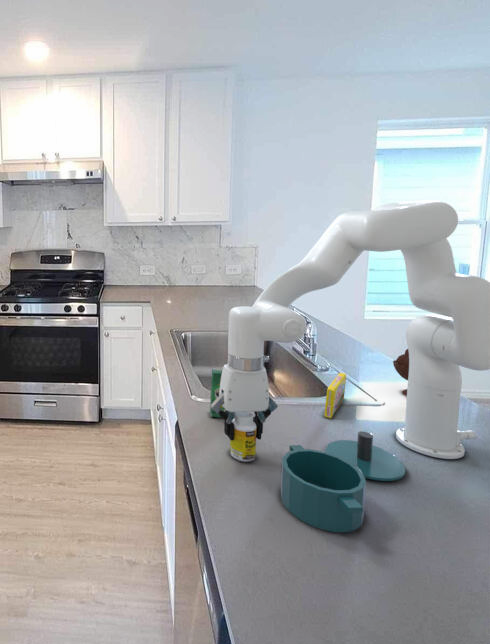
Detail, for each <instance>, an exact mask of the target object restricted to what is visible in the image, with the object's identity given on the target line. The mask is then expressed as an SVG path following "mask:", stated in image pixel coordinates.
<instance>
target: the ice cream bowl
mask: <svg viewBox="0 0 490 644" xmlns="http://www.w3.org/2000/svg"><path fill="white" fill-rule="evenodd" d="M392 363H393V367H394V370H395V371H396V372H397V374H398V375H399V376H400V377H401V378H402V379H404V380H405V381H408V376H409V351H408V348H407V349H405V351H404V353H403V354H401V355H398V357H397V358H396V359H395V360H392ZM401 393H402V395H404V396H406V397H407V388H406V389H403V390H402V391H401Z"/></svg>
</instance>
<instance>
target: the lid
mask: <svg viewBox="0 0 490 644" xmlns="http://www.w3.org/2000/svg"><path fill="white" fill-rule="evenodd" d="M373 442H374V435H373V434H372V433H370V432H367V431H358V432H357V440H351V439H341V440H334V441H331V442H329V443H327V445H326V447H325V452H327V453H330V454H333V455H336V456H339V457H341V458H343V459H344V460H346V461H348V462H350V463H352V464H353V465H354V466H356V467H357V468H358V469H359V470H360V471H361V472H362V473H363V475H364V477H365V479H369V480H373V481H381V482H390V481H391V482H392V481H397V480H401V479H402V478H404V476H405V475H406V466H405V464H404V463H403V461H402V460H401V459H400V458H399V457H398V456H396V455H394V454H393V453H391V452H390V451H389V450H388V451H387V450H386V449H384V448H381V447H380V446H376V445H373V444H374V443H373Z"/></svg>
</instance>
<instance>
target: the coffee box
mask: <svg viewBox="0 0 490 644" xmlns="http://www.w3.org/2000/svg"><path fill="white" fill-rule="evenodd" d="M222 371H223V369H211V382H210V383H211V385H210V402H209V403H210V404H209V414H210V417H211V418H217V419H220V418H221V419H223V418H222V417H221V416H220V415H219V414H217V413H216V412H215V411H214V410H213V409H212V408H211V404H212V403H213V402H214V401H215V400H216V399H217V398H218V397H219V390H220V382H221V375H222ZM220 409H222V410H223V411H224V410H225V405H224V404H222V405H221V406H220ZM234 417H235V415H234ZM233 419H234V418H233Z"/></svg>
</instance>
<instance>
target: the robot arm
mask: <svg viewBox="0 0 490 644" xmlns="http://www.w3.org/2000/svg"><path fill="white" fill-rule="evenodd" d="M458 225H459V215H458V213H457V211H456V209H455V208H454V207H453V206H451V205H450V204H449V203H447V202H443V201H441V200H421V201H397V202H389V203H385V204H381V205H378V206H377V207H376V208H375V209H373V210H351V211H346V212H343V213H341V214H339V215H338V216H337V217H336V218H335V219H334V220H333V221H332V222H331V223H330V225H329V226H328V227H327V228H326V229H325V231H324V232H323V234H321V236H320V238H319V239H318V240H317V241H316V243H315V244H314V245H313V246H312V247H311V248H310V250H309V251H308V252H307V254H306V255H305V256H304V257H303V259H302V260H301V261H299V263H297V264H295V265H294V266H292V267H290V268H289V269H287V270H286V271H285V272H283V273H282V274H280V275H279V276H278V277H276V278H275V279H273V280H272V281H271V282H270V283H269V284H268V285H267V286H266V287H265V288H264V289H263V291H262V292H261V293H260V295H259V296H258V297H257V298H256V300H255V302H254V303H253V304H252V306H248V305H247V306H243V305H240V306H234V307H233V308H231V309H230V310H229V311H228V330H227V331H228V332H227V333H228V334H227V363H226V364H224V365H223V367H222V370H223V371H222V375H221V382H220V390H219V397H218V398H217V399H216V400H215V401H214V402H213V403H212V404H211V408H212V409H213V410H214V411H215V412H216V413H217V414H219V415H220V416H221V417H222V418H221V419H223V421H224V422H223V424H224V425H223V427H224V428H223V430H224V431H223V432H224V434H225V435H226V437H228V439H229V440H234V424H233V422H232V420H233V418H234V415H235V413H236V412H250V413H252V412H253V414H254V416H253V422H254V423H255V424H256V440H262V434H263V432H264V423H265V422H266V419H267V418H268V417H269V416H271V415H272V413H273V412H274V411H275V410H276V409H277V408H278V407H279V405H278V404H277V403H276V402H275V401H274V400H273V398H272V397H271V396H270V389H269V388H270V387H269V386H270V385H269V378H268V374H267V369H266V367H265V363H269V362H270V357H269V355H265V354H264V350H265V342H275V343H282V344H283V343H285V344H286V343H287V344H288V343H289V344H290V343H293V342H297V341H299V340H300V339H302V338H303V337H304V336H305V334H306V332H307V322H306V320H305V318H304V317H303V315H302V314H300V313H299V312H297V310H294V309H292V308H289V307H290V306H291V305H292V304H293V302H295V301H296V300H297V299H299V298H300V297H302V296H303V295H306V294H308V293H310V292H315V291H319V290H323V289H326V288H329V287H332V286H335V285H337V284H338V283H339V282H340V281H341V279H342V278H343V277H344V275H346V273H347V272H348V271H349V269H350V268H351V267H352V265H353V264H354V263H355V262H356V260H358V258H359V257H360V256H361V254H363V252H364V251H366V252H378V253H385V252H394V251H400V252H401V253H402V256H403V259H404V264H405V272H406V273H405V274H406V281H407V288H408V295H409V299H410V302H411V304H412V305H413V306H414V307H415V308H416V309H417V308H418V309H419V310H422V311H425V312H429V313H427V314H420V315H417V316H416V317H415V318H414V317H413V319H411V321H410V322H409V323H408V324H407V327H406V330H405V331H406V332H405V338H406V345H407V349H408V351H409V376H408V380H407V388H406V389H407V396H406V401H405V416H404V426H403V427H400V428H398V429H397V430H396V431H395V438H396V440H397V441H398V442H399V443H400V444H402V445H403V446H404V447H406V448H407V449H410V450H412V451H414V452H416V453H418V454H422V455H425V456H428V457H431V458H432V457H433V458H437V459H443V460H456V459H461V458H462V457H464V456H465V452H466V451H465V450H466V449H465V446H464V445H462V443H461V442H463V441H464V440H476V439H477V434H476V433H475V431H473V430H461V429H460V427H458V425H459V415H460V405H461V392H462V387H463V386H462V385H463V375H462V371H461V369H460V367H461V368H466V369H469V370H471V371H480V372H481V371H488V370H490V281H488V280H487V279H485V278H483V277H480V276H477V275H469V274H463V273H459V272H458V271H457V269H456V264H455V259H454V253H453V249H452V246H451V244H450V241H449V240H448V238H449V237H450V236H451V235H453V233H454V232H455V231H456V229H457V227H458ZM430 313H431V314H430ZM222 404H224V405H225V410H224V411H223V410H222V409H220V406H221V405H222Z"/></svg>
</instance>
